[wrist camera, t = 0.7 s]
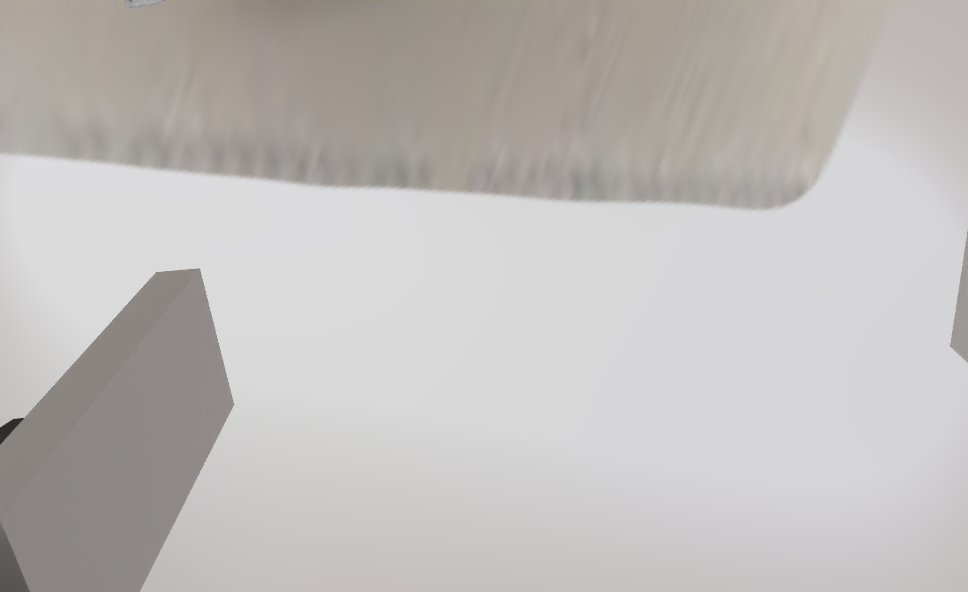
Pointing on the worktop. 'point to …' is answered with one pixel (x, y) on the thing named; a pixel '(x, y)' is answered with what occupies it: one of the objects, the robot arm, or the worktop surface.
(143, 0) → the ink box
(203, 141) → the worktop surface
